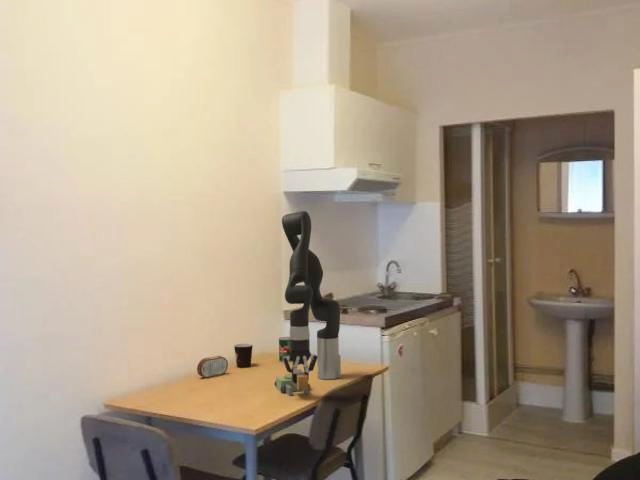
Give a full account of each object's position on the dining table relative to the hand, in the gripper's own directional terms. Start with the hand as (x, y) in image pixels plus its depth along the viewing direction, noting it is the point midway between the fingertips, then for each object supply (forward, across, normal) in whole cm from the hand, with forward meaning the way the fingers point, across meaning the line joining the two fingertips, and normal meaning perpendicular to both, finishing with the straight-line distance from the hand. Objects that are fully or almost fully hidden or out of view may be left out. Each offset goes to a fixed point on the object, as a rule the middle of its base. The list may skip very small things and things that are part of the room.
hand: (300, 382), depth 256 cm
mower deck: (+5, 0, -11) cm, 12 cm away
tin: (+6, +26, -49) cm, 56 cm away
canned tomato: (+5, -13, -69) cm, 70 cm away
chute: (+2, 0, -1) cm, 2 cm away
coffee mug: (+5, +9, -65) cm, 66 cm away
